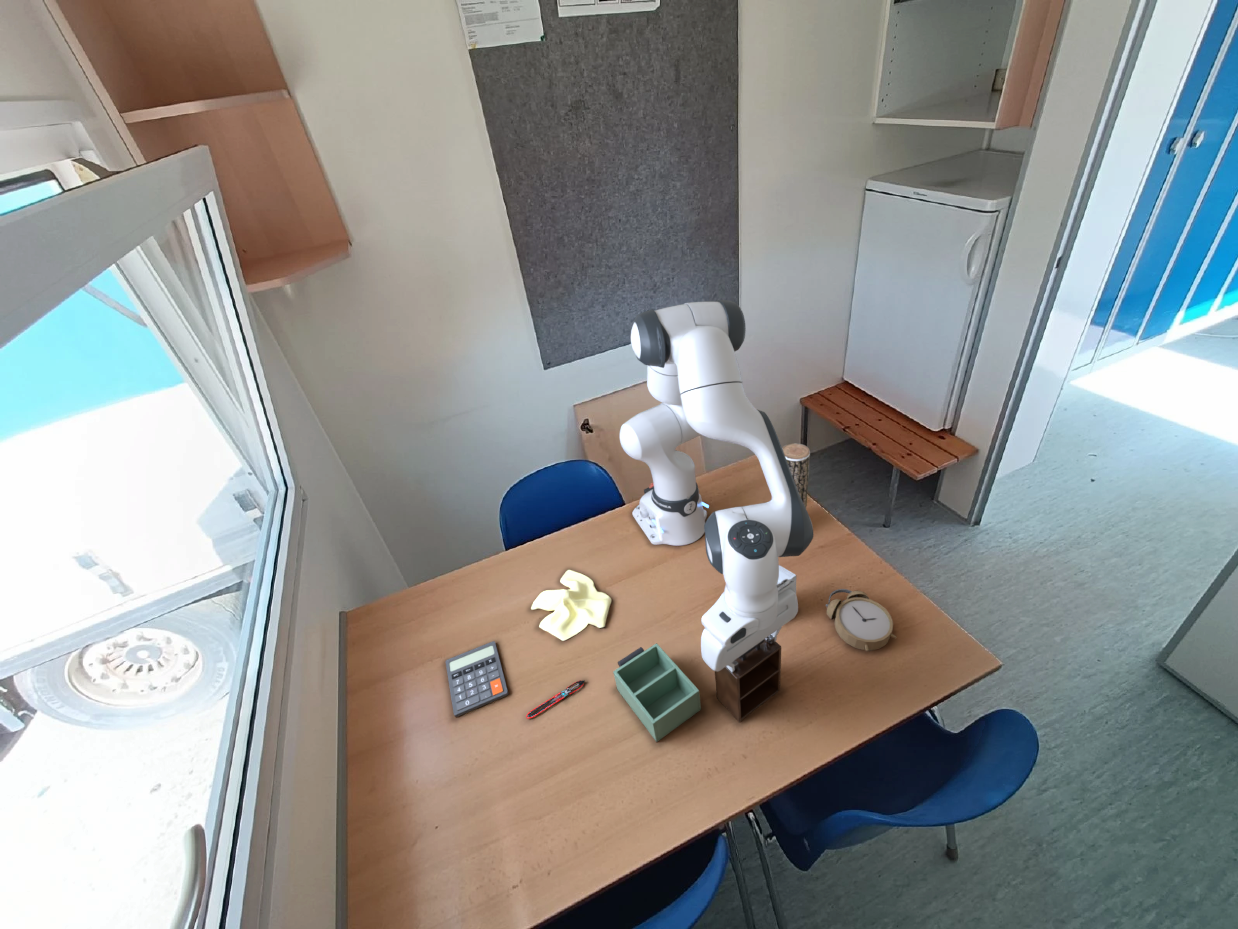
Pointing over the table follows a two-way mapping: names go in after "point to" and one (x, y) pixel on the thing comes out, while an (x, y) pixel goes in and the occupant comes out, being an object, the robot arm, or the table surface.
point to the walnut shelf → (750, 680)
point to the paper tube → (798, 467)
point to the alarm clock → (860, 620)
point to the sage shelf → (656, 690)
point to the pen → (555, 699)
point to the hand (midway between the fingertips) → (751, 654)
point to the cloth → (573, 606)
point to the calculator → (475, 678)
